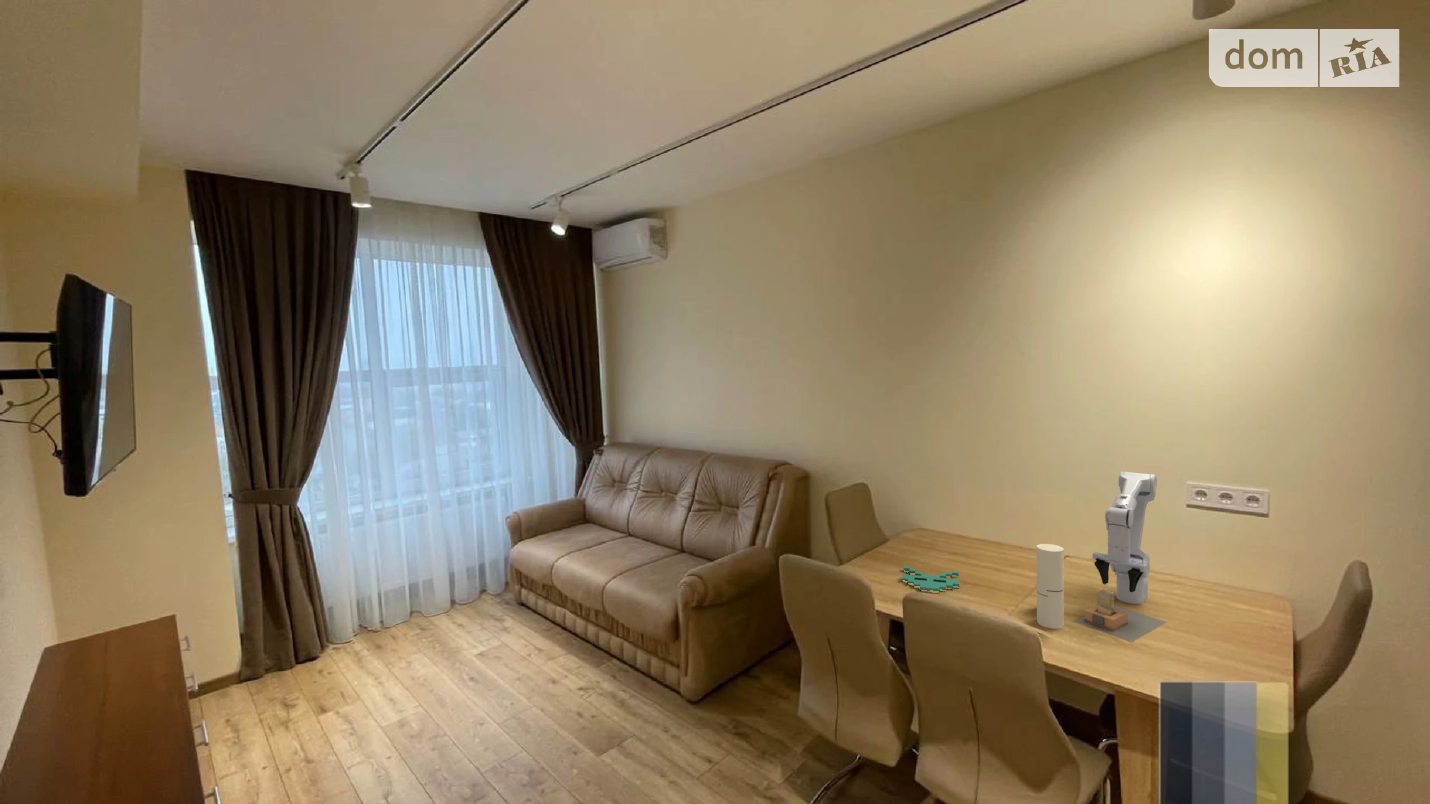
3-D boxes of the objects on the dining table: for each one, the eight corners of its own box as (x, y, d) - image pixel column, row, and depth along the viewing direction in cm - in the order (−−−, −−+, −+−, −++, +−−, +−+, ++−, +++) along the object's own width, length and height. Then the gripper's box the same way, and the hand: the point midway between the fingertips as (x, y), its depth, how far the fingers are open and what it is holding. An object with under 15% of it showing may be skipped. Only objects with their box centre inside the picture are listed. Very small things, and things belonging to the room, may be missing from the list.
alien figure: (904, 571, 224) (900, 590, 205) (904, 566, 224) (900, 584, 205) (958, 576, 216) (959, 597, 198) (958, 571, 216) (959, 591, 198)
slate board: (1109, 606, 185) (1109, 603, 185) (1167, 625, 171) (1167, 621, 171) (1072, 624, 174) (1072, 621, 174) (1131, 645, 160) (1131, 642, 160)
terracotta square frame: (1099, 613, 178) (1099, 603, 178) (1128, 623, 171) (1128, 612, 171) (1083, 621, 173) (1083, 610, 173) (1112, 631, 166) (1112, 620, 166)
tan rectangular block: (1102, 617, 174) (1102, 589, 174) (1113, 621, 172) (1113, 592, 171) (1097, 619, 173) (1097, 591, 172) (1108, 623, 170) (1108, 594, 169)
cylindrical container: (1063, 633, 168) (1063, 552, 167) (1036, 628, 172) (1036, 549, 170) (1063, 624, 174) (1063, 545, 173) (1037, 619, 178) (1037, 542, 176)
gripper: (1087, 542, 181) (1087, 582, 182) (1139, 554, 168) (1138, 598, 169) (1098, 537, 184) (1098, 578, 185) (1150, 549, 172) (1150, 592, 173)
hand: (1118, 587), depth 177 cm, fingers open, 7 cm apart
